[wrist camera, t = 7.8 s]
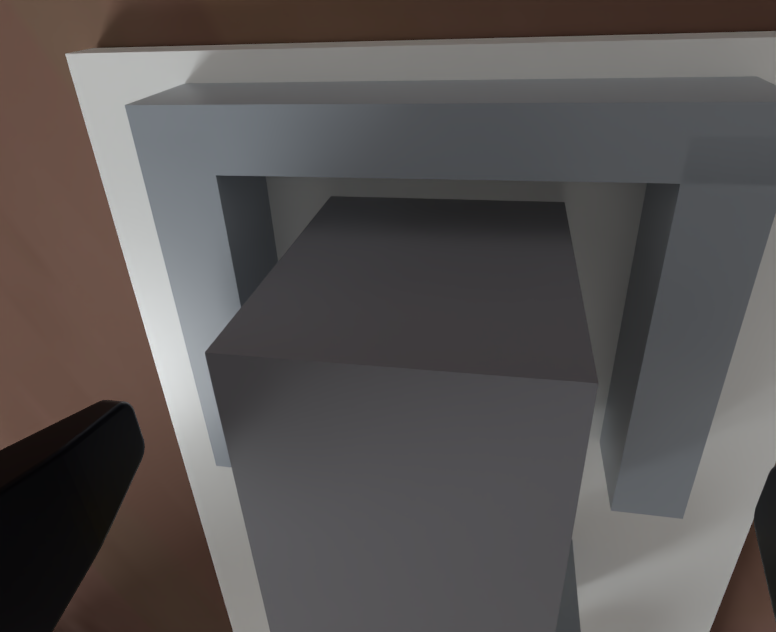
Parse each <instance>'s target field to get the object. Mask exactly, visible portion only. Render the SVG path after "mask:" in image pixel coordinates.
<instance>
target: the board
mask: <svg viewBox="0 0 776 632" xmlns="http://www.w3.org/2000/svg"><path fill="white" fill-rule="evenodd" d="M65 55H66V58H67V62H68V65H69V69H70V72H71V76H72V79H73V82H74V86H75V89H76V93H77V96H78V100H79V103H80V107H81V110H82V113H83V117H84V120H85V124H86V127H87V131H88V134H89V138H90V141H91V144H92V148H93V151H94V155H95V158H96V162H97V165H98V169H99V172H100V175H101V179H102V182H103V186H104V189H105V193H106V196H107V199H108V203H109V206H110V210H111V213H112V217H113V220H114V224H115V227H116V230H117V234H118V237H119V241H120V244H121V248H122V251H123V255H124V258H125V261H126V265H127V268H128V272H129V275H130V279H131V282H132V286H133V289H134V292H135V296H136V299H137V303H138V306H139V310H140V313H141V316H142V320H143V323H144V327H145V330H146V334H147V337H148V341H149V344H150V347H151V351H152V354H153V358H154V361H155V365H156V368H157V372H158V375H159V378H160V382H161V385H162V389H163V392H164V396H165V399H166V403H167V406H168V409H169V413H170V416H171V420H172V423H173V427H174V430H175V433H176V437H177V440H178V444H179V447H180V451H181V454H182V458H183V461H184V464H185V468H186V471H187V475H188V478H189V482H190V485H191V489H192V492H193V495H194V499H195V502H196V506H197V509H198V513H199V516H200V520H201V523H202V526H203V530H204V533H205V537H206V540H207V544H208V547H209V550H210V554H211V557H212V561H213V564H214V568H215V571H216V575H217V578H218V581H219V585H220V588H221V592H222V595H223V599H224V602H225V606H226V609H227V612H228V616H229V619H230V623H231V626H232V630H233V632H270V629H269V625H268V620H267V616H266V612H265V608H264V603H263V599H262V595H261V591H260V586H259V582H258V578H257V574H256V569H255V565H254V561H253V557H252V552H251V548H250V544H249V540H248V535H247V531H246V527H245V523H244V518H243V514H242V510H241V506H240V501H239V497H238V493H237V488H236V484H235V480H234V476H233V471H232V467H231V463H230V459H229V454H228V450H227V446H226V442H225V437H224V433H223V429H222V425H221V420H220V416H219V412H218V408H217V403H216V399H215V395H214V391H213V386H212V382H211V378H210V374H209V369H208V365H207V361H206V357H205V351H206V350H207V349H208V348H209V347H210V345H211V344H212V343H213V342H214V340H215V339H216V338H217V337H218V335H219V334H220V333H221V332H222V330H223V329H224V328H225V327H226V325H227V324H228V323H229V322H230V320H231V319H232V318H233V317H234V316H235V314H236V313H237V312H238V311H239V309H240V308H241V307H242V306H243V304H244V303H245V302H246V301H247V299H248V298H249V297H250V296H251V294H252V293H253V292H254V291H255V290H256V288H257V287H258V286H259V285H260V283H261V282H262V281H263V280H264V278H265V277H266V276H267V275H268V273H269V272H270V271H271V270H272V268H273V267H274V266H275V265H276V264H277V262H278V261H279V260H280V259H281V257H282V256H283V255H284V254H285V252H286V251H287V250H288V249H289V247H290V246H291V245H292V244H293V242H294V241H295V240H296V239H297V237H298V236H299V235H300V234H301V233H302V231H303V230H304V229H305V228H306V226H307V225H308V224H309V223H310V221H311V220H312V219H313V218H314V216H315V215H316V214H317V213H318V211H319V210H320V209H321V208H322V207H323V205H324V204H325V203H326V202H327V200H328V199H329V198H330V197H331V196H346V197H385V198H424V199H463V200H502V201H542V202H565V207H566V212H567V218H568V223H569V228H570V234H571V239H572V244H573V250H574V255H575V260H576V266H577V271H578V276H579V282H580V287H581V292H582V298H583V303H584V308H585V314H586V319H587V324H588V330H589V335H590V340H591V346H592V351H593V356H594V362H595V367H596V372H597V378H598V383H599V384H598V390H597V395H596V401H595V407H594V413H593V418H592V424H591V430H590V436H589V442H588V447H587V453H586V459H585V465H584V470H583V476H582V482H581V488H580V493H579V499H578V505H577V511H576V516H575V522H574V528H573V534H572V539H571V545H570V551H569V557H568V563H567V568H566V574H565V580H564V586H563V591H562V597H561V603H560V609H559V614H558V620H557V626H556V632H710V629H711V627H712V624H713V621H714V619H715V616H716V614H717V611H718V609H719V606H720V603H721V601H722V598H723V596H724V593H725V591H726V588H727V586H728V583H729V580H730V578H731V575H732V573H733V570H734V568H735V565H736V563H737V560H738V557H739V555H740V552H741V550H742V547H743V545H744V542H745V540H746V537H747V534H748V532H749V529H750V527H751V524H752V522H753V519H754V512H755V508H756V505H757V502H758V500H759V497H760V495H761V492H762V490H763V487H764V484H765V482H766V479H767V477H768V474H769V472H770V470H771V469H772V468H773V467H774V465H775V463H776V31H756V32H716V33H676V34H636V35H596V36H556V37H516V38H476V39H436V40H396V41H356V42H316V43H276V44H236V45H196V46H156V47H116V48H91V49H86V50H81V51H76V52H71V53H67V54H65Z"/></svg>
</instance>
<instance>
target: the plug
mask: <svg viewBox="0 0 776 632" xmlns="http://www.w3.org/2000/svg"><path fill="white" fill-rule="evenodd" d="M205 357H206V361H207V365H208V369H209V374H210V378H211V382H212V386H213V391H214V395H215V399H216V403H217V408H218V412H219V416H220V420H221V425H222V429H223V433H224V437H225V442H226V446H227V450H228V454H229V459H230V463H231V467H232V471H233V476H234V480H235V484H236V488H237V493H238V497H239V501H240V506H241V510H242V514H243V518H244V523H245V527H246V531H247V535H248V540H249V544H250V548H251V552H252V557H253V561H254V565H255V569H256V574H257V578H258V582H259V586H260V591H261V595H262V599H263V603H264V608H265V612H266V616H267V620H268V625H269V629H270V632H556V626H557V620H558V614H559V609H560V603H561V597H562V591H563V586H564V580H565V574H566V568H567V563H568V557H569V551H570V545H571V539H572V534H573V528H574V522H575V516H576V511H577V505H578V499H579V493H580V488H581V482H582V476H583V470H584V465H585V459H586V453H587V447H588V442H589V436H590V430H591V424H592V418H593V413H594V407H595V401H596V395H597V390H598V384H599V383H598V378H597V372H596V367H595V362H594V356H593V351H592V346H591V340H590V335H589V330H588V324H587V319H586V314H585V308H584V303H583V298H582V292H581V287H580V282H579V276H578V271H577V266H576V260H575V255H574V250H573V244H572V239H571V234H570V228H569V223H568V218H567V212H566V207H565V202H542V201H502V200H463V199H424V198H385V197H346V196H331V197H330V198H329V199H328V200H327V202H326V203H325V204H324V205H323V207H322V208H321V209H320V210H319V211H318V213H317V214H316V215H315V216H314V218H313V219H312V220H311V221H310V223H309V224H308V225H307V226H306V228H305V229H304V230H303V231H302V233H301V234H300V235H299V236H298V237H297V239H296V240H295V241H294V242H293V244H292V245H291V246H290V247H289V249H288V250H287V251H286V252H285V254H284V255H283V256H282V257H281V259H280V260H279V261H278V262H277V264H276V265H275V266H274V267H273V268H272V270H271V271H270V272H269V273H268V275H267V276H266V277H265V278H264V280H263V281H262V282H261V283H260V285H259V286H258V287H257V288H256V290H255V291H254V292H253V293H252V294H251V296H250V297H249V298H248V299H247V301H246V302H245V303H244V304H243V306H242V307H241V308H240V309H239V311H238V312H237V313H236V314H235V316H234V317H233V318H232V319H231V320H230V322H229V323H228V324H227V325H226V327H225V328H224V329H223V330H222V332H221V333H220V334H219V335H218V337H217V338H216V339H215V340H214V342H213V343H212V344H211V345H210V347H209V348H208V349H207V350H206V351H205Z"/></svg>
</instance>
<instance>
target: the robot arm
mask: <svg viewBox="0 0 776 632" xmlns="http://www.w3.org/2000/svg"><path fill="white" fill-rule="evenodd" d="M144 448H145V446H144V439H143V436H142V433H141V430H140V427H139V424H138V421H137V418H136V415H135V412H134V409H133V407H132V406H131V405H130V404H129V403H127V402H123V401H113V400H103V401H100V402H97V403H95V404H93V405H91V406H89V407H87V408H85V409H83V410H81V411H79V412H77V413H75V414H73V415H71V416H69V417H67V418H65V419H63V420H61V421H59V422H57V423H55V424H53V425H51V426H49V427H47V428H45V429H43V430H41V431H39V432H37V433H35V434H33V435H31V436H28V437H26V438H24V439H22V440H20V441H18V442H16V443H14V444H12V445H10V446H8V447H6V448H4V449H2V450H0V632H52V631H53V630H54V628H55V626H56V625H57V623H58V621H59V619H60V618H61V616H62V614H63V613H64V611H65V609H66V607H67V606H68V604H69V602H70V600H71V599H72V597H73V595H74V594H75V592H76V590H77V588H78V587H79V585H80V583H81V582H82V580H83V578H84V576H85V575H86V573H87V571H88V570H89V568H90V566H91V564H92V563H93V561H94V559H95V557H96V555H97V554H98V552H99V550H100V548H101V546H102V544H103V542H104V540H105V538H106V536H107V534H108V532H109V530H110V528H111V526H112V524H113V521H114V519H115V517H116V515H117V513H118V510H119V508H120V506H121V504H122V502H123V499H124V497H125V495H126V493H127V491H128V489H129V486H130V484H131V482H132V480H133V478H134V475H135V473H136V471H137V469H138V467H139V465H140V462H141V460H142V458H143V454H144ZM754 527H755V532H756V536H757V541H758V545H759V550H760V554H761V559H762V563H763V567H764V572H765V576H766V581H767V585H768V590H769V594H770V599H771V603H772V608H773V612H774V616H775V621H776V466H774V467H773V468H772V469H771V470H770V472H769V474H768V477H767V479H766V482H765V484H764V487H763V490H762V492H761V495H760V497H759V500H758V502H757V505H756V508H755V512H754Z"/></svg>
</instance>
